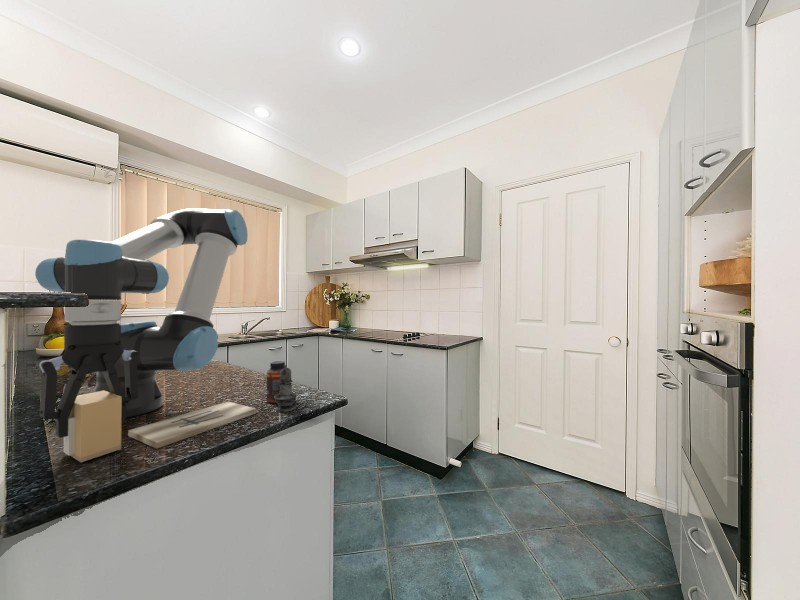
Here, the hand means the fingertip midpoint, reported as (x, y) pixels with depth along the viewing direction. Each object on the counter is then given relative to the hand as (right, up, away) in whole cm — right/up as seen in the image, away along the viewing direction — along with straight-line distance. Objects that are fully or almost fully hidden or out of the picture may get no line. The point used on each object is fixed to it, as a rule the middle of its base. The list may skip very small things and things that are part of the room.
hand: (92, 445), depth 57 cm
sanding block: (0, -1, 0) cm, 1 cm away
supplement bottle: (+22, -2, +32) cm, 39 cm away
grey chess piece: (+27, -2, +25) cm, 37 cm away
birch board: (+10, -2, +15) cm, 18 cm away
